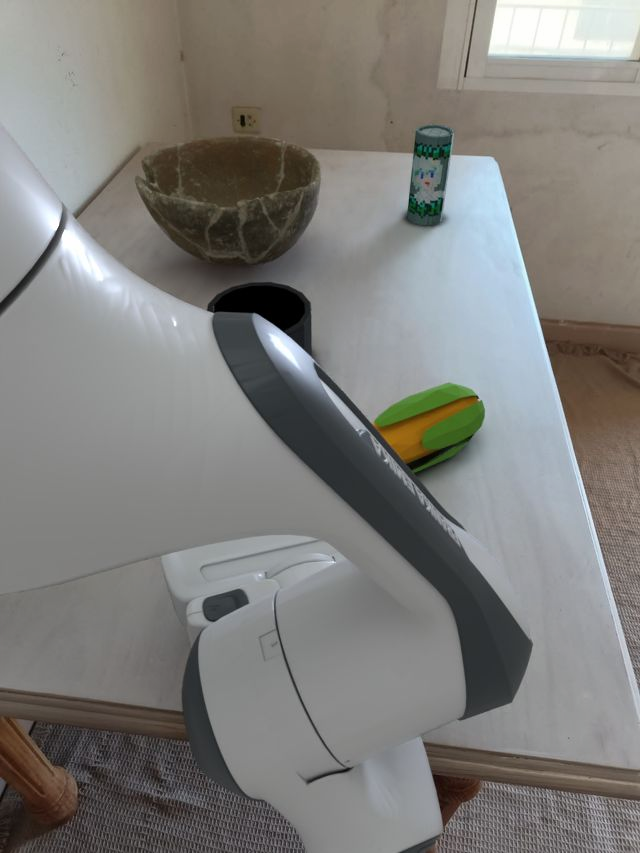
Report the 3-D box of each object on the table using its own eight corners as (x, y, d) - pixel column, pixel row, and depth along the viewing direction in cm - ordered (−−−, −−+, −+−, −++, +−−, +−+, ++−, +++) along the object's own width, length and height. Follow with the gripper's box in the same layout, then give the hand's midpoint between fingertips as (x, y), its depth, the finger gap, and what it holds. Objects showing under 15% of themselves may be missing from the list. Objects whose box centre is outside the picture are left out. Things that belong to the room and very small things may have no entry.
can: (404, 222, 112) (413, 134, 102) (411, 208, 116) (420, 122, 106) (437, 227, 111) (450, 139, 101) (444, 213, 115) (456, 126, 105)
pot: (261, 410, 75) (257, 352, 69) (194, 366, 81) (184, 310, 76) (331, 363, 82) (332, 307, 76) (264, 326, 88) (260, 271, 82)
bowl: (136, 302, 92) (114, 203, 82) (163, 221, 112) (148, 133, 102) (323, 300, 93) (324, 201, 83) (318, 219, 113) (318, 132, 102)
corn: (509, 390, 66) (352, 464, 58) (498, 445, 71) (352, 519, 63) (461, 358, 71) (310, 422, 63) (453, 411, 76) (313, 476, 68)
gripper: (449, 559, 46) (383, 432, 55) (164, 628, 41) (147, 477, 51) (437, 605, 50) (378, 480, 60) (178, 672, 46) (160, 526, 55)
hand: (270, 479), depth 55 cm, fingers closed on lid, 3 cm apart
